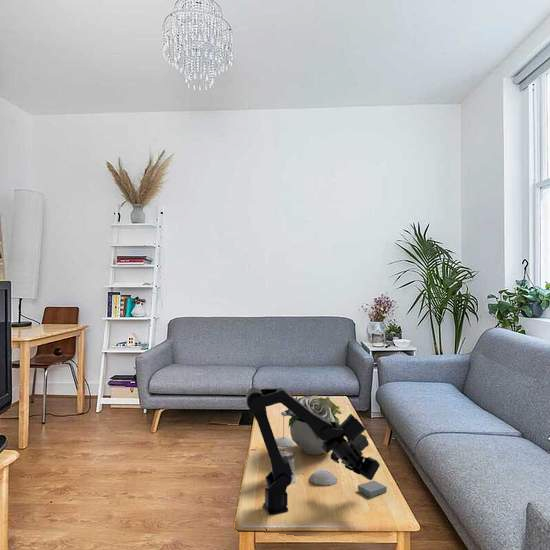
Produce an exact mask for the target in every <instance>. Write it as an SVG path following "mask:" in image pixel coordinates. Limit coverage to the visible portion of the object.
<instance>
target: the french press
mask: <svg viewBox="0 0 550 550" xmlns="http://www.w3.org/2000/svg"><path fill="white" fill-rule="evenodd" d="M280 414H281V416H282V418H283V421H282V423H283V427H282V428H283V430H282V431H283V434H282V436H281V437H277V438H275V440H276V443H277V446H278V448H283V449H279V452H280V454H281V455H282V457H284V456H287V459H288V462H289V465H290V467H291V470H292V473H293V475H291V476H292V481H291V483H290V484H291V485H293V484H295V483H296V482H297V480H296V479H297V477H296V476H295V462H294V461H295V456H294V453H293V451H292V450H289V449H287V448H289V447H292V446H293V445H294V444H295V442H294V441H293V440H292V438H290V437H287V436H285V417H286V416H285V415H286V412H285V411H281V413H280ZM285 448H286V449H285ZM295 481H296V482H295ZM294 482H295V483H294ZM292 483H293V484H292Z"/></svg>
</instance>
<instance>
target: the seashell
mask: <svg viewBox="0 0 550 550" xmlns="http://www.w3.org/2000/svg"><path fill="white" fill-rule="evenodd" d="M309 481H310V482H311V481H312V483H313V484H315V485H319V486H325V487H327V486H328V487H329V485H330V486H333V485H336V484H337V483H338V478H337V477H336V476H335V474H334V473H332V472H331V471H329V470H327V469H324V468H323V469H322V468H321V469H320V468H319V469H317V470H315V471H314V472H312V473H311V474H310V475H309Z"/></svg>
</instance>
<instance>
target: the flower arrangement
mask: <svg viewBox="0 0 550 550" xmlns="http://www.w3.org/2000/svg"><path fill="white" fill-rule="evenodd" d="M294 398H295V399H296V400H298V401H299V402H300V403H301V404H303V405H304V406H305V407H306V408H308V409H309V410H310V411H312V412H314V413H316V414H318V415H320V416H322V417H324V418H326V419H328V420H329V421H331V422H337V423H339V424H340V419H339V418H338V417H337V416H336V414H338V415H342V411H341V410H340V406H338V405H336V404H335V402H333V401H332V400H331V399H330V397H329V396H326V397H323V396H318V395H314V394H310V395H309V394H308V395H305V396H302V397H299V398H298V396H295V397H294ZM284 412H286V415H285V416H284V417H287V416H289V417H290V418H289V420H288V429H289V431H290V432H289V433H290V436H291V439H292V440H293V441H294V444H296V445H297V446H298V447H300V448H302V449H303V451H304V453H306V454H308V455H313V456H316V455H321V454H323V453H325V451H324V450H323V448H322V444H323V442H325V441H323V440H321V439H320V438H319V437H318V436H317V434H316V433H315V432H314V431H313V430H312V429H311V427H310V426H309V425H308V424H307V423H306V422H305V421H303V420H302V419H301V418H300V417H298V416H297V415H296V414H294V413H293V412H292V411H291V410H289V409H288V408H287V409H285V410H284Z"/></svg>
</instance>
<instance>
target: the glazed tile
mask: <svg viewBox="0 0 550 550" xmlns="http://www.w3.org/2000/svg"><path fill="white" fill-rule="evenodd" d="M387 489H388V487H387V486H386V485H384V484H383V483H380V482H378V481H376V480H374V479H372V480H369V481H367V482H364V483H361V484H358V485H357V491H358V492H359V491H360V493H361V492H362V493H361V494H363V493H364V494H363V495H365V496H367V497H368V496H369V497H368V498H370V497H371V498H373V497H372V496H374V497H376V496H378V494H379V495H381V494H384V493H386V492H387ZM383 492H384V493H383ZM375 495H376V496H375Z"/></svg>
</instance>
